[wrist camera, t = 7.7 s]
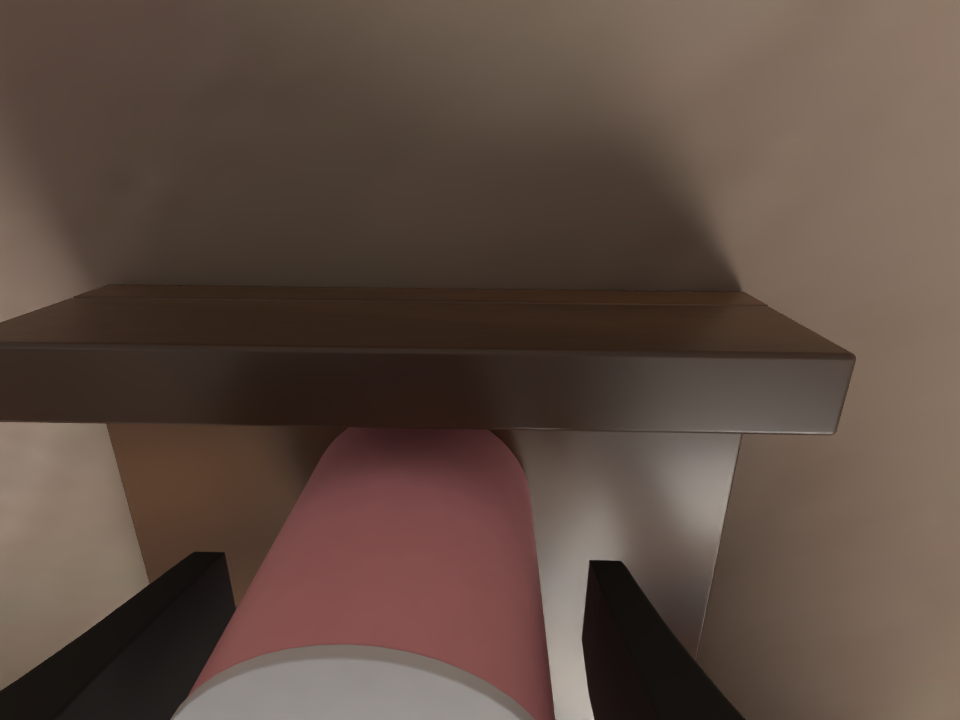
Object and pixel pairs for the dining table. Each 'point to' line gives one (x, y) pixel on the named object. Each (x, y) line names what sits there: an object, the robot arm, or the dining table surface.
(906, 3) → the dining table surface
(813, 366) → the serving board
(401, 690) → the yogurt pot
